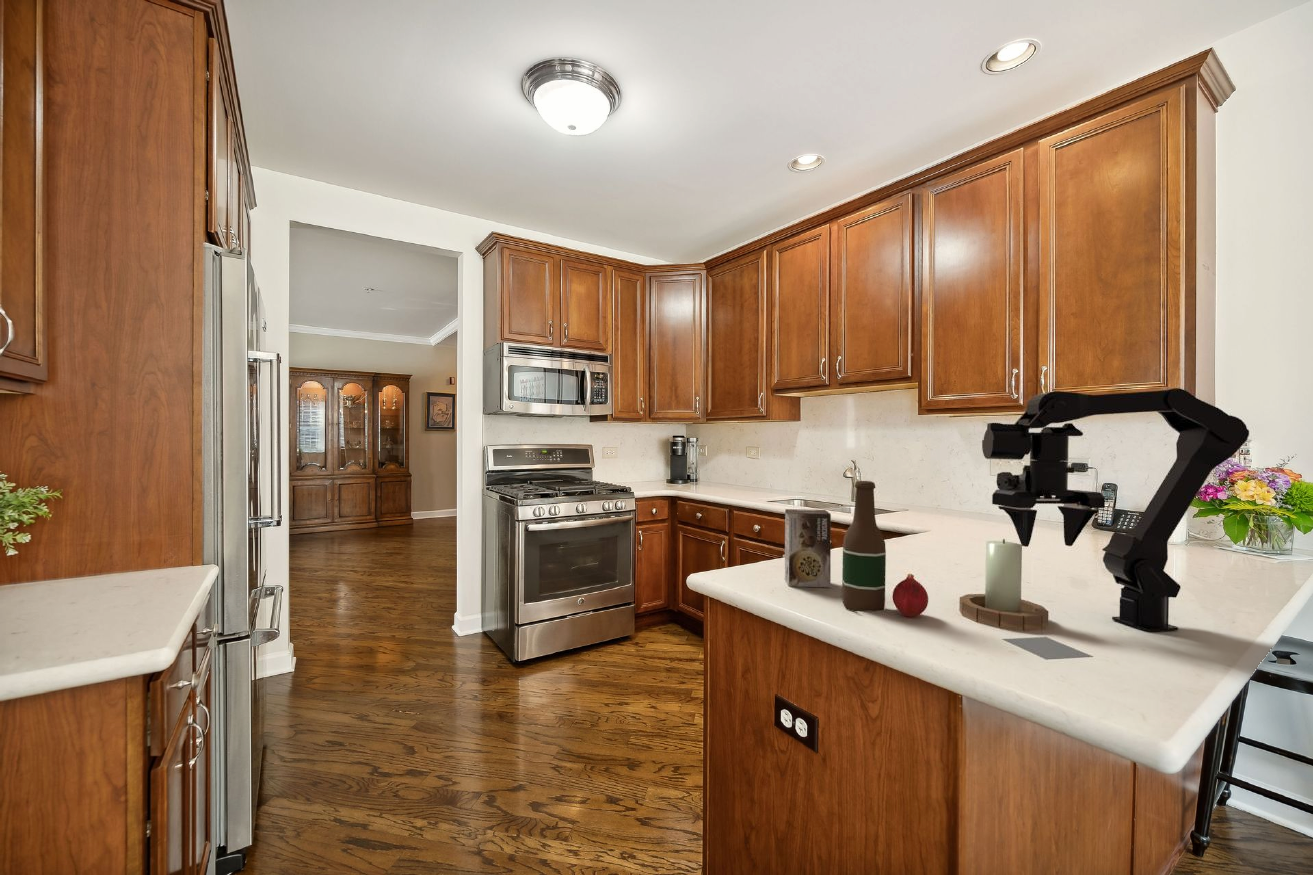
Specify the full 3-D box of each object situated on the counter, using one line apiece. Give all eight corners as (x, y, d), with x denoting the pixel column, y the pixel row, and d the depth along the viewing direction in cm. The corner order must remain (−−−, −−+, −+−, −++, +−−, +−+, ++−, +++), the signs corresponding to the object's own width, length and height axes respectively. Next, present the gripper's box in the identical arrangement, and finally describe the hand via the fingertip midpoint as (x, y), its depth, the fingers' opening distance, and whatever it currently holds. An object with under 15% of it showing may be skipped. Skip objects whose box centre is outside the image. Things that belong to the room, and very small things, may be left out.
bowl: (1005, 608, 105) (1005, 593, 105) (1066, 632, 92) (1066, 614, 92) (944, 611, 103) (944, 595, 103) (998, 635, 90) (998, 617, 90)
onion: (932, 625, 95) (932, 579, 95) (896, 622, 96) (897, 577, 96) (922, 615, 100) (923, 571, 100) (889, 612, 101) (889, 569, 101)
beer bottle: (888, 606, 105) (890, 481, 105) (880, 617, 99) (882, 483, 99) (846, 599, 109) (848, 479, 110) (836, 609, 103) (838, 481, 103)
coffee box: (824, 580, 124) (825, 509, 124) (831, 588, 118) (832, 513, 118) (783, 579, 125) (784, 508, 125) (787, 586, 118) (789, 511, 119)
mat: (1045, 640, 88) (1045, 636, 88) (1093, 660, 80) (1093, 656, 80) (1002, 642, 87) (1002, 639, 87) (1045, 663, 79) (1045, 659, 79)
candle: (1015, 614, 99) (1017, 537, 99) (1024, 623, 94) (1026, 542, 94) (981, 610, 101) (983, 535, 101) (988, 619, 96) (990, 540, 96)
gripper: (1053, 459, 110) (1052, 537, 110) (971, 458, 107) (969, 538, 107) (1108, 462, 99) (1106, 548, 99) (1017, 460, 96) (1016, 550, 96)
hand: (1046, 546), depth 100 cm, fingers open, 9 cm apart
